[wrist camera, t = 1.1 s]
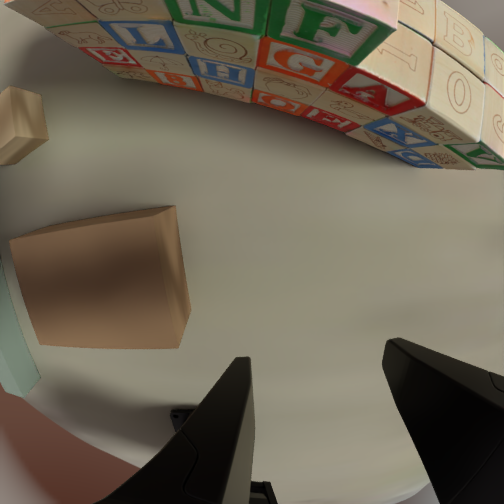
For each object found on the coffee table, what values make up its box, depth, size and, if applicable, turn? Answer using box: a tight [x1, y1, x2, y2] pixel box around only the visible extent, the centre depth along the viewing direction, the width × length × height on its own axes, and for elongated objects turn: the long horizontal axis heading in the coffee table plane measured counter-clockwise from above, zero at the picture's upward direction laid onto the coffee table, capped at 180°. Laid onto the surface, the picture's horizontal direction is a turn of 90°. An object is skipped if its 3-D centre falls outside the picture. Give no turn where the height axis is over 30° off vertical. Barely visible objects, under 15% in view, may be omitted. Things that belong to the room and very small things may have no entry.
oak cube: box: [0, 85, 49, 165], centre depth 13 cm, size 4×4×4 cm
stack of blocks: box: [4, 0, 504, 170], centre depth 10 cm, size 21×6×12 cm, turn 74°
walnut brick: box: [9, 206, 191, 349], centre depth 16 cm, size 7×10×5 cm
